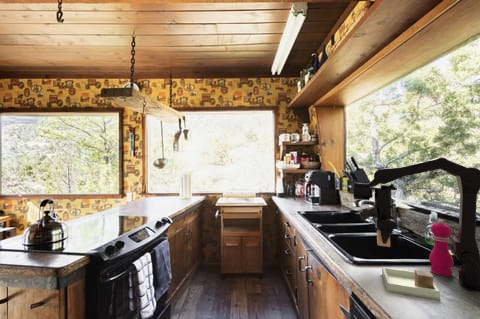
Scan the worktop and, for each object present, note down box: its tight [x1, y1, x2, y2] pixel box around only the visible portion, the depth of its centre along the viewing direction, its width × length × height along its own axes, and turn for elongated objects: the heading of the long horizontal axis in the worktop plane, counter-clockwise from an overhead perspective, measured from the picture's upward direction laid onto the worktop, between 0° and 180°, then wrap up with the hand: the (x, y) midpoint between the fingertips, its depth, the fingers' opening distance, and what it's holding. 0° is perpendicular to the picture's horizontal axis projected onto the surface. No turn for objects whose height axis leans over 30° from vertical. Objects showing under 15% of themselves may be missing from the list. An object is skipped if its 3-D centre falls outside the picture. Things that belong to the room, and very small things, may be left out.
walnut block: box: [414, 269, 434, 289], centre depth 81 cm, size 4×4×5 cm
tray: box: [381, 266, 441, 301], centre depth 84 cm, size 14×14×3 cm
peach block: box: [376, 229, 391, 248], centre depth 97 cm, size 4×4×5 cm
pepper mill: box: [428, 218, 455, 277], centre depth 95 cm, size 7×7×20 cm
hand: (383, 241), depth 97 cm, fingers closed on peach block, 4 cm apart
